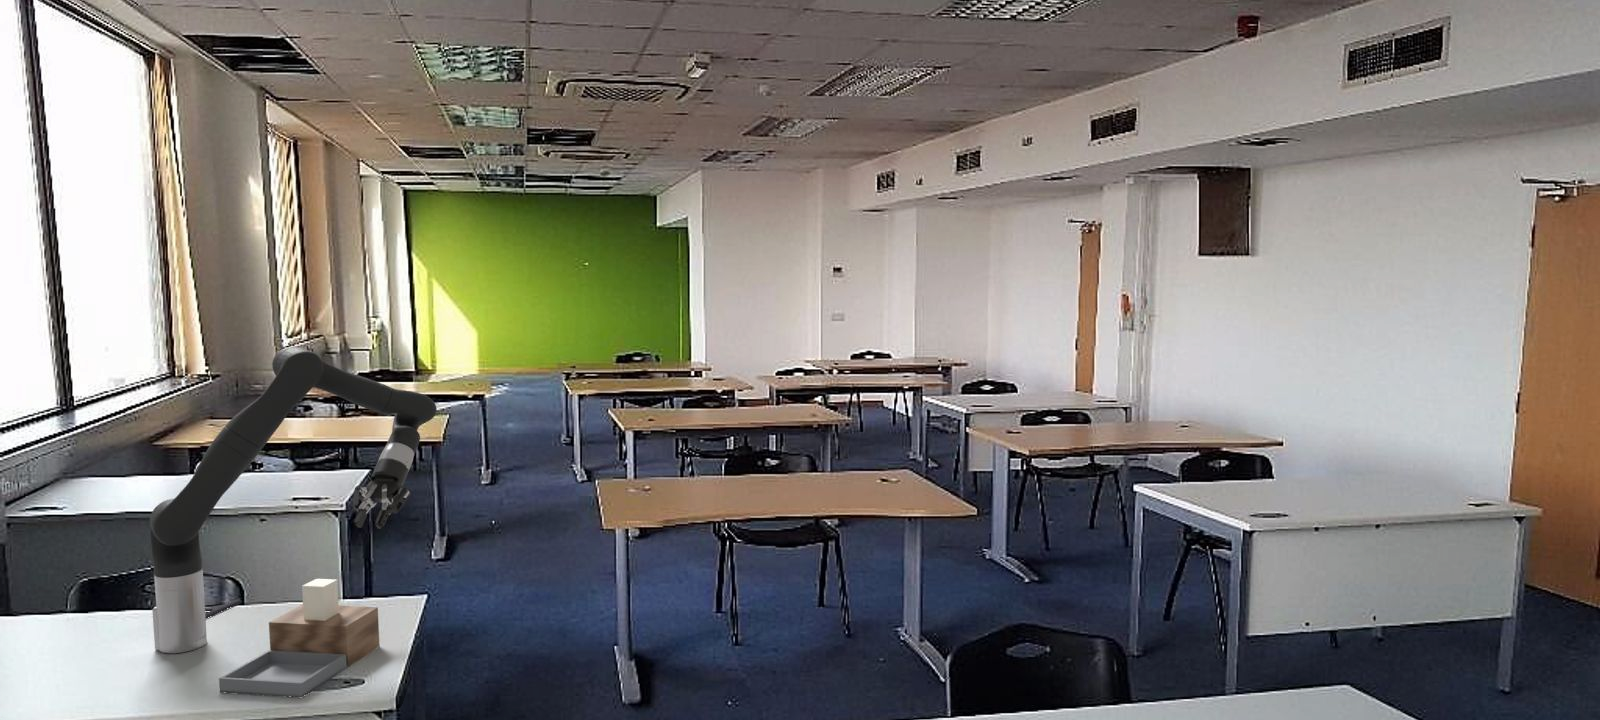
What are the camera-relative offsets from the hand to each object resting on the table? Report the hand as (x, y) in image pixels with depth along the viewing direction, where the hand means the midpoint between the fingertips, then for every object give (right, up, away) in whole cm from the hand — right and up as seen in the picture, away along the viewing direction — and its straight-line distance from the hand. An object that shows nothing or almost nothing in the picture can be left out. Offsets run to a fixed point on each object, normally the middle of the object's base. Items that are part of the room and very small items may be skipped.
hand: (368, 526), depth 238 cm
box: (-5, -27, -29) cm, 40 cm away
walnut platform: (-3, -26, -16) cm, 30 cm away
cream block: (-3, -17, -17) cm, 24 cm away
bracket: (-49, -24, +14) cm, 56 cm away
